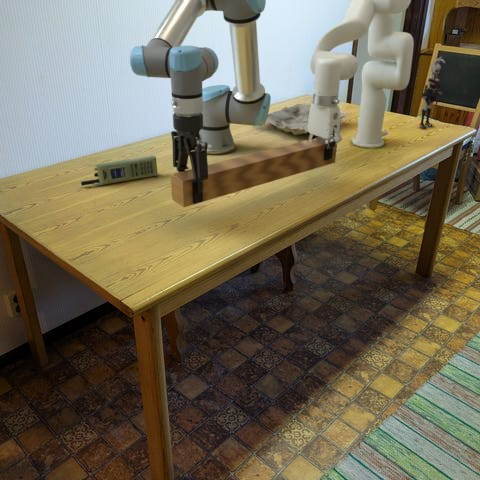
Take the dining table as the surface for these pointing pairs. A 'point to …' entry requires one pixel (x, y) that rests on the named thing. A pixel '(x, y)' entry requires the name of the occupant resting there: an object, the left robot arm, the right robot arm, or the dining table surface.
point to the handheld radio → (124, 170)
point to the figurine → (431, 92)
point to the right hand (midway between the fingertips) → (320, 155)
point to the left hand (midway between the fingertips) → (191, 197)
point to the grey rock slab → (292, 118)
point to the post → (252, 170)
